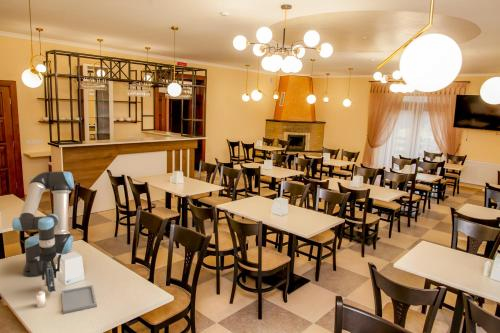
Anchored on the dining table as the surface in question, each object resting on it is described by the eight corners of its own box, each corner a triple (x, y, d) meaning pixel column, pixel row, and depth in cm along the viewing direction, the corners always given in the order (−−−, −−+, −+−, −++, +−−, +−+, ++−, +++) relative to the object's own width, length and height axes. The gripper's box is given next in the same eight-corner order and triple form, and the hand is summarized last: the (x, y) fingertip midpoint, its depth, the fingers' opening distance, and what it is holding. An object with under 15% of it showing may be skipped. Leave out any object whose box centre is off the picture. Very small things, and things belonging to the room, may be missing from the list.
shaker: (37, 305, 188) (36, 290, 186) (45, 303, 190) (44, 288, 188) (36, 309, 184) (36, 294, 183) (45, 307, 186) (44, 292, 185)
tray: (62, 293, 200) (61, 290, 199) (92, 287, 207) (92, 285, 207) (63, 314, 181) (63, 311, 181) (96, 306, 189) (96, 303, 188)
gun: (46, 258, 206) (52, 261, 194) (50, 286, 205) (55, 291, 194) (41, 259, 204) (46, 262, 192) (45, 287, 204) (50, 292, 192)
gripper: (29, 250, 187) (32, 290, 192) (64, 245, 195) (66, 283, 200) (30, 245, 194) (33, 283, 198) (63, 240, 201) (65, 277, 206)
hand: (49, 283), depth 199 cm, fingers closed on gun, 3 cm apart
